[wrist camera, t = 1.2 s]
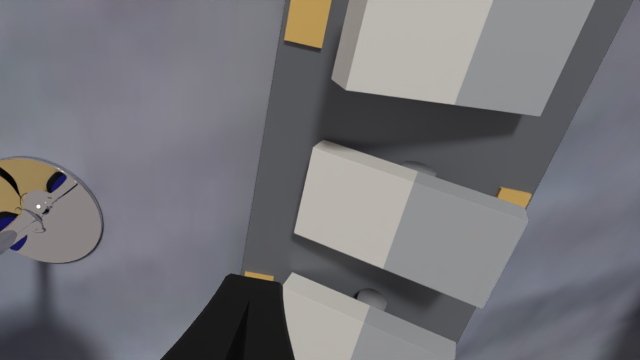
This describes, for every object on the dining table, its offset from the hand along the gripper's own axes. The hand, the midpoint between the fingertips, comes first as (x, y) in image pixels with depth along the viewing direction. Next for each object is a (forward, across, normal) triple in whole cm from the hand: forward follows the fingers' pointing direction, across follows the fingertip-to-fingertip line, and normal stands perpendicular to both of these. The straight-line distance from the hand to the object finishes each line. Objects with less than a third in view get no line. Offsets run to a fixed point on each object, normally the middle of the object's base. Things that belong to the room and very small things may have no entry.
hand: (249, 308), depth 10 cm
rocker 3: (+8, -6, +7) cm, 12 cm away
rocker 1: (+8, -4, -7) cm, 11 cm away
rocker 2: (+8, -6, 0) cm, 10 cm away
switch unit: (+10, -5, 0) cm, 12 cm away
